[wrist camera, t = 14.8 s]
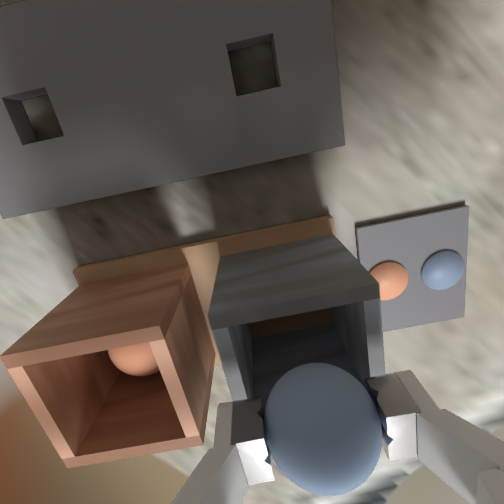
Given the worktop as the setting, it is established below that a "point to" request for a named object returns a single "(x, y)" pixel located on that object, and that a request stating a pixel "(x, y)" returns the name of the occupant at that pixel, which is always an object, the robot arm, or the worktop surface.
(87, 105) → the grey flat slab
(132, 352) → the ball terracotta
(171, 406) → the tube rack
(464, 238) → the card
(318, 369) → the ball blue
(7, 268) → the worktop surface
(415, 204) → the worktop surface
